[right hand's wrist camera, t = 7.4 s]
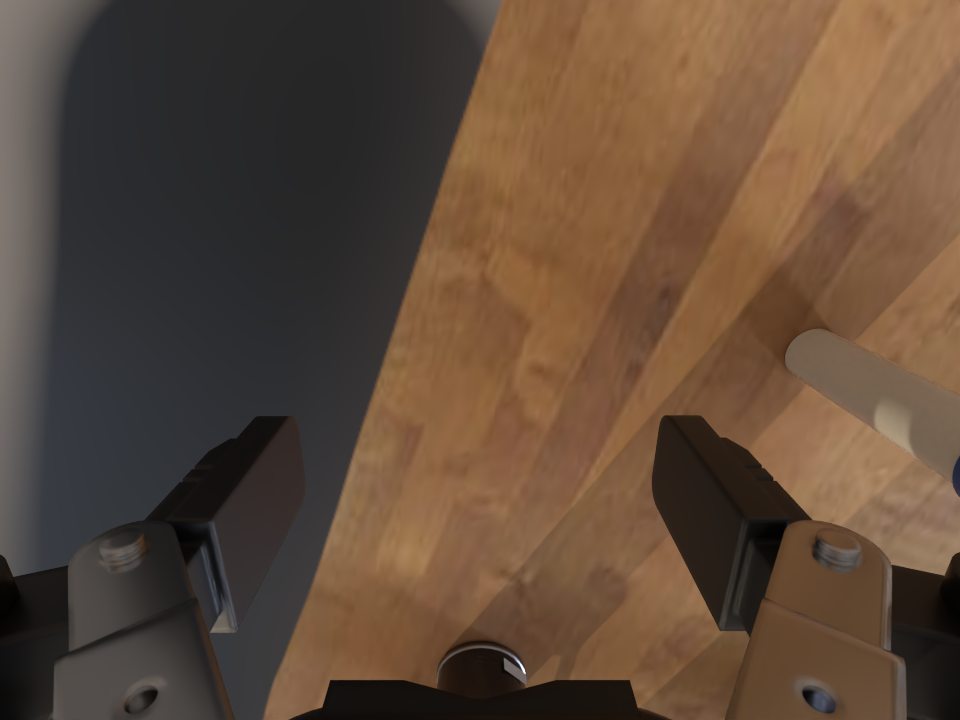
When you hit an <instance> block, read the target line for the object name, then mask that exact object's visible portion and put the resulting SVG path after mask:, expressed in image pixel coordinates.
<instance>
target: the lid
mask: <svg viewBox="0 0 960 720" xmlns="http://www.w3.org/2000/svg"><path fill="white" fill-rule="evenodd" d="M952 483H953V487H954V489H955V491H956V493H957V494H958V496H959V497H960V456H959V458H958V459H957V461H956V463H955V466H954V469H953V474H952Z"/></svg>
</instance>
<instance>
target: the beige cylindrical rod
mask: <svg viewBox="0 0 960 720" xmlns="http://www.w3.org/2000/svg"><path fill="white" fill-rule="evenodd" d="M785 364H786V367H787V369H788V370H789V372H790V373H791V374H793V375H794V376H796V377H797V378H798V379H800V380H801V381H803V382H804V383H806V384H807V385H809V386H810V387H812V388H813V389H815V390H816V391H818V392H819V393H820V394H822V395H823V396H825V397H826V398H828V399H829V400H831V401H832V402H834V403H835V404H837V405H838V406H840V407H841V408H842V409H844V410H845V411H847V412H848V413H850V414H851V415H853V416H854V417H856V418H857V419H859V420H860V421H862V422H863V423H864V424H866V425H867V426H869V427H870V428H872V429H873V430H875V431H876V432H878V433H879V434H881V435H882V436H884V437H885V438H886V439H888V440H889V441H891V442H892V443H894V444H895V445H897V446H898V447H900V448H901V449H903V450H904V451H906V452H907V453H908V454H910V455H911V456H913V457H914V458H916V459H917V460H919V461H920V462H922V463H923V464H925V465H926V466H928V467H929V468H930V469H932V470H933V471H935V472H936V473H938V474H939V475H941V476H942V477H944V478H945V479H947V480H948V481H950V482H951V483H952V474H953V469H954V466H955V463H956V461H957V459H958V458H959V456H960V394H958V393H956V392H954V391H952V390H950V389H948V388H946V387H944V386H942V385H939V384H937V383H935V382H933V381H931V380H929V379H927V378H925V377H923V376H921V375H919V374H917V373H915V372H913V371H911V370H909V369H907V368H904V367H902V366H900V365H898V364H896V363H894V362H892V361H890V360H888V359H886V358H884V357H882V356H880V355H878V354H876V353H874V352H872V351H869V350H867V349H865V348H863V347H861V346H859V345H857V344H855V343H853V342H851V341H849V340H847V339H845V338H843V337H841V336H839V335H836V334H834V333H832V332H830V331H828V330H825V329H811V330H808V331H805V332H803V333H801V334H800V335H798V336H797V337H796V338H795V339H794V340H793V341H792V342H791V343H790V345H789V346H788V348H787V351H786V354H785ZM952 484H953V483H952Z"/></svg>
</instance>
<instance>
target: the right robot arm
mask: <svg viewBox="0 0 960 720" xmlns="http://www.w3.org/2000/svg"><path fill="white" fill-rule="evenodd" d="M652 491H653V497H654V501H655V504H656V507H657V509H658V510H659V512H660V514H661V516H662V518H663V520H664V522H665V524H666V526H667V528H668V530H669V532H670V534H671V536H672V538H673V540H674V542H675V544H676V546H677V548H678V550H679V552H680V553H681V555H682V557H683V559H684V561H685V563H686V565H687V567H688V569H689V571H690V573H691V575H692V577H693V579H694V581H695V583H696V585H697V587H698V589H699V591H700V593H701V595H702V596H703V598H704V600H705V602H706V604H707V606H708V608H709V610H710V612H711V614H712V616H713V618H714V620H715V622H716V624H717V626H718V628H719V630H720V631H747V633H748V635H749V637H750V640H749V643H748V646H747V650H746V653H745V656H744V659H743V662H742V666H741V669H740V672H739V675H738V679H737V682H736V685H735V688H734V691H733V695H732V698H731V701H730V704H729V707H728V711H727V714H726V717H725V720H960V552H959V553H957V554H955V555H954V556H953V557H952V559H951V562H950V564H949V566H948V569H947V571H946V574H945V576H943V575H938V574H933V573H928V572H924V571H919V570H914V569H909V568H905V567H900V566H895V565H891V563H890V561H889V559H888V558H887V556H886V555H885V553H884V552H883V551H882V550H881V549H880V548H879V547H877V546H876V545H875V544H874V543H872V542H871V541H869V540H868V539H866V538H865V537H863V536H861V535H859V534H858V533H856V532H853V531H851V530H849V529H847V528H844V527H841V526H839V525H835V524H832V523H827V522H823V521H815V520H812V519H811V518H810V517H809V516H808V515H807V514H806V513H805V511H804V510H803V509H802V508H801V507H800V506H799V505H798V504H797V503H796V502H795V501H794V500H793V499H792V497H791V496H790V495H789V494H788V493H787V492H786V491H785V490H784V489H783V488H782V487H781V486H780V485H779V483H778V482H777V481H773V477H772V476H771V475H770V474H769V473H768V472H767V471H766V469H765V468H762V465H761V464H760V463H759V462H758V461H757V460H756V459H755V458H754V457H753V455H752V454H751V453H750V452H749V451H748V450H746V449H745V448H743V447H741V446H740V445H738V444H736V443H734V442H733V441H731V440H729V439H728V438H720V437H719V436H718V435H717V433H716V432H715V431H714V430H713V429H712V428H711V427H710V425H709V424H708V423H707V422H706V421H705V420H704V418H702V417H701V416H698V415H665V416H664V417H663V418H662V419H661V422H660V426H659V432H658V439H657V446H656V453H655V460H654V467H653V474H652ZM304 495H305V472H304V466H303V459H302V452H301V445H300V438H299V431H298V425H297V422H296V420H295V418H294V417H292V416H257V417H255V418H254V419H253V420H252V422H251V423H250V424H249V425H248V426H247V427H246V428H245V429H244V431H243V432H242V433H241V434H240V435H239V436H238V437H237V439H229V440H227V441H226V442H224V443H222V444H221V445H219V446H217V447H215V448H214V449H212V450H210V451H209V452H208V453H207V454H206V455H205V456H204V457H203V458H202V459H201V460H200V461H199V462H198V463H197V465H196V466H195V469H192V470H191V471H190V472H189V473H188V474H187V475H186V476H185V477H184V478H183V482H180V483H179V484H178V485H177V486H176V487H175V488H174V489H173V490H172V491H171V492H170V493H169V494H168V496H167V497H166V498H165V499H164V500H163V501H162V502H161V503H160V504H159V505H158V506H157V507H156V508H155V509H154V511H153V512H152V513H151V514H150V515H149V516H148V517H147V518H146V519H145V520H144V521H137V522H133V523H128V524H125V525H121V526H119V527H116V528H113V529H111V530H109V531H107V532H104V533H102V534H101V535H99V536H97V537H95V538H94V539H92V540H91V541H89V542H88V543H86V544H85V545H84V546H83V547H81V548H80V549H79V550H78V552H76V554H75V555H74V556H73V558H72V559H71V561H70V563H69V565H68V566H64V567H59V568H54V569H50V570H45V571H40V572H35V573H31V574H26V575H21V576H16V577H13V575H12V573H11V571H10V568H9V566H8V564H7V561H6V559H5V558H4V557H3V556H2V555H0V720H235V717H234V714H233V711H232V708H231V704H230V701H229V698H228V695H227V691H226V688H225V685H224V682H223V679H222V675H221V672H220V669H219V666H218V663H217V659H216V656H215V653H214V650H213V646H212V643H211V640H210V637H209V633H236V632H237V630H238V628H239V626H240V624H241V622H242V620H243V618H244V616H245V614H246V612H247V611H248V609H249V607H250V605H251V603H252V601H253V599H254V597H255V595H256V593H257V591H258V589H259V587H260V585H261V583H262V582H263V579H264V578H265V576H266V574H267V572H268V570H269V568H270V566H271V564H272V562H273V560H274V558H275V556H276V555H277V553H278V551H279V549H280V547H281V545H282V543H283V541H284V539H285V537H286V535H287V533H288V531H289V529H290V527H291V526H292V524H293V522H294V520H295V518H296V516H297V514H298V512H299V510H300V508H301V506H302V503H303V500H304ZM525 684H526V685H527V679H526V674H525V667H524V665H523V662H522V661H521V659H520V658H519V657H518V656H517V655H516V654H515V653H514V652H513V651H511V650H510V649H508V648H506V647H504V646H501V645H498V644H495V643H488V642H474V643H468V644H464V645H461V646H459V647H456V648H455V649H453V650H451V651H450V652H448V653H447V654H446V655H445V656H444V657H443V659H442V660H441V662H440V664H439V666H438V670H437V689H435V688H432V687H428V686H424V685H420V684H416V683H412V682H409V681H405V680H330V683H329V687H328V690H327V694H326V697H325V701H324V704H323V707H322V708H319V709H315V710H312V711H309V712H306V713H304V714H301V715H299V716H296V717H293V718H291V719H289V720H671V719H669V718H667V717H664V716H661V715H659V714H656V713H654V712H651V711H648V710H645V709H641V708H638V707H637V704H636V701H635V697H634V694H633V690H632V687H631V683H630V680H555V681H551V682H548V683H544V684H540V685H536V686H532V687H528V688H526V685H525Z"/></svg>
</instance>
